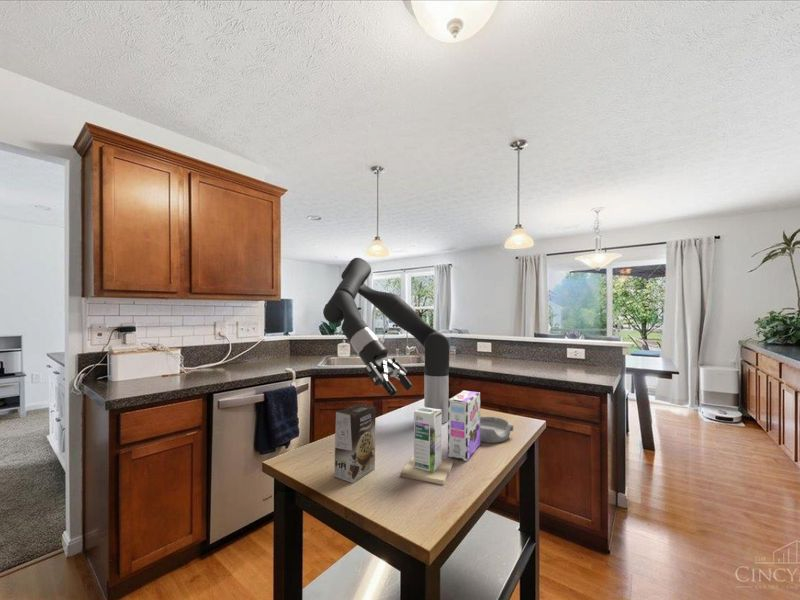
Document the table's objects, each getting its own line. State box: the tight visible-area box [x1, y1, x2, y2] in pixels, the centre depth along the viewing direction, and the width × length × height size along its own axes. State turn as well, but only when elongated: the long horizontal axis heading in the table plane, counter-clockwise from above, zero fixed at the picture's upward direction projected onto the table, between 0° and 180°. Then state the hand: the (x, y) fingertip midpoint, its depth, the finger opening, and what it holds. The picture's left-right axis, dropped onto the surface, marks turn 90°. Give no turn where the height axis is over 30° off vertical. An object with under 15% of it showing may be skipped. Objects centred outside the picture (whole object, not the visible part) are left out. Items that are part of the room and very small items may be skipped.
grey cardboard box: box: [333, 404, 377, 484], centre depth 85 cm, size 9×6×16 cm
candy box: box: [447, 390, 481, 462], centre depth 99 cm, size 14×6×16 cm, turn 151°
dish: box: [480, 416, 514, 444], centre depth 111 cm, size 14×14×5 cm
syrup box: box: [413, 406, 443, 473], centre depth 87 cm, size 6×6×14 cm
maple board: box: [400, 455, 454, 486], centre depth 86 cm, size 11×11×1 cm
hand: (402, 391), depth 91 cm, fingers open, 8 cm apart
